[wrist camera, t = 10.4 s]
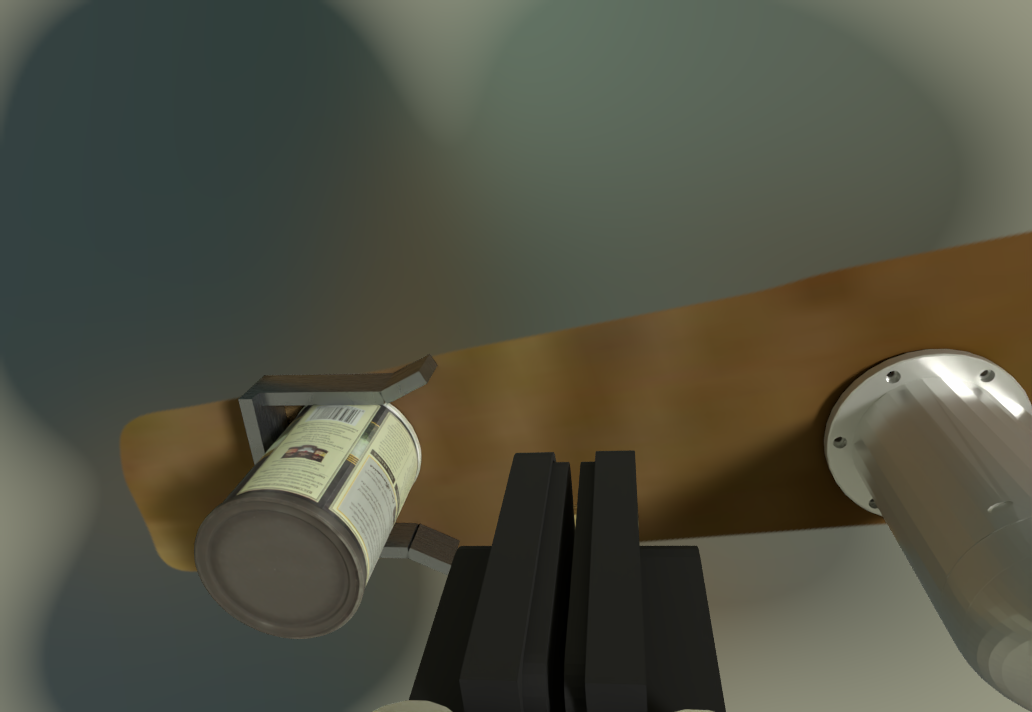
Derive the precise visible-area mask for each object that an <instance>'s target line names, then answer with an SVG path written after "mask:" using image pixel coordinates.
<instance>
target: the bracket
mask: <svg viewBox="0 0 1032 712" xmlns="http://www.w3.org/2000/svg"><path fill="white" fill-rule="evenodd" d="M436 367H437V364H436V362H435V361H434V360H433V358H432V357H431V355H430V354H429V355H427V356H425V357H423V358H421V359H419V360H417V361H415V362H414V363H412V364H410V365H408V366H406V367H404V368H402V369H401V370H399V371H397V372H395V373H386V374H322V375H321V374H318V375H264V376H263V377H262V378H261V379H260V380H259V381H258V382H257V383H256V384H254V385H253V386H252V387H251V388H250V389H249V390H248V391H247V392H246V393H245V394H244V395H242V396H241V397H240V398H239V399H238V400H239V404H240V408H241V412H242V416H243V420H244V424H245V428H246V432H247V436H248V440H249V444H250V448H251V452H252V456H253V460H254V464H255V465H256V463H257V462H258V461H259V460H260V459H261V458H262V456H263V455H264V454H265V453H266V452H267V451H268V449H269V448H270V447H271V446H272V445H273V444H274V442H275V441H276V440H277V439H278V438H279V437H280V435H281V434H282V433H283V432H284V431H285V430H286V428H287V427H288V422H287V417H286V413H285V408H284V405H384V404H385V403H387V404H388V403H390V402H392V401H394V400H396V399H398V398H400V397H402V396H404V395H406V394H408V393H409V392H411V391H413V390H415V389H417V388H419V387H421V386H423V385H425V384H427V383H428V381H429V379H430V377H431V376H432V374H433V372H434V370H435V369H436ZM459 542H460V541H459V540H457V539H455V538H452V537H450V536H447V535H445V534H443V533H440V532H438V531H436V530H433V529H431V528H429V527H426V526H424V525H422V524H420V525H419V528H418V523H395V524H394V526H393V528H392V530H391V532H390V534H389V537H388V539H387V541H386V543H385V545H384V547H383V550H382V552H381V554H380V556H379V558H408V559H411V560H413V561H415V562H418V563H420V564H422V565H425V566H427V567H430V568H432V569H434V570H436V571H439V572H441V573H444V574H446V575H447V574H448V572H449V570H450V568H451V565H452V561H453V558H454V555H455V553H456V551H457V548H458V545H459Z"/></svg>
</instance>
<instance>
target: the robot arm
mask: <svg viewBox="0 0 1032 712" xmlns="http://www.w3.org/2000/svg"><path fill="white" fill-rule="evenodd" d="M891 371H892V373H890V374H888V373H889V372H891ZM983 371H984V372H983ZM887 374H888V375H887ZM837 437H839V438H837ZM836 438H837V439H836ZM824 451H825V457H826V460H827V464H828V467H829V470H830V471H831V473H832V475H833V477H834V479H835V481H836V483H837V484H838V486H839V487H840V488H841V489H842V491H843V492H844V493H845V495H847V496H848V497H849V498H850V499H851V500H852V501H854V502H855V503H856V504H857V505H859V506H861V507H862V508H864V509H866V510H867V511H869V512H871V513H874V514H877V515H880V516H883V518H884V519H885V521H886V523H887V525H888V526H889V528H890V530H891V531H892V533H893V535H894V537H895V539H896V541H897V542H898V544H899V546H900V548H901V549H902V551H903V553H904V555H905V556H906V558H907V560H908V562H909V563H910V565H911V567H912V569H913V571H914V572H915V574H916V576H917V577H918V579H919V581H920V583H921V585H922V587H923V588H924V590H925V592H926V594H927V595H928V597H929V599H930V601H931V602H932V604H933V606H934V608H935V610H936V611H937V613H938V615H939V617H940V618H941V620H942V622H943V624H944V625H945V627H946V629H947V631H948V632H949V634H950V636H951V638H952V639H953V641H954V643H955V644H956V646H957V648H958V650H959V651H960V653H961V654H962V655H963V657H964V658H965V660H966V661H967V663H968V664H969V665H970V666H971V667H972V668H973V670H974V671H975V672H976V673H977V674H978V675H979V676H980V677H981V678H982V679H983V680H984V681H985V682H987V683H988V684H989V685H990V686H992V687H993V688H994V689H995V690H997V691H998V692H999V693H1001V694H1002V695H1003V696H1004V697H1006V698H1008V699H1009V700H1011V701H1013V702H1014V703H1016V704H1018V705H1020V706H1021V707H1023V708H1025V709H1027V710H1029V711H1031V712H1032V405H1031V403H1030V401H1029V399H1028V397H1027V395H1026V393H1025V391H1024V389H1023V388H1022V387H1021V386H1020V385H1019V384H1018V382H1017V381H1016V380H1015V379H1014V378H1013V377H1012V376H1011V375H1010V374H1008V373H1007V372H1006V371H1005V370H1004V369H1002V368H1001V367H1000V366H998V365H996V364H995V363H993V362H991V361H990V360H988V359H986V358H984V357H981V356H978V355H975V354H972V353H969V352H965V351H959V350H952V349H926V350H921V351H915V352H909V353H905V354H903V355H900V356H897V357H894V358H891V359H888V360H886V361H884V362H882V363H880V364H879V365H877V366H875V367H873V368H871V369H869V370H868V371H867V372H865V373H864V374H863V375H861V376H860V377H859V378H857V379H856V380H855V381H854V382H853V383H852V384H851V385H850V386H849V387H848V388H847V389H846V390H845V391H844V392H843V393H842V395H841V396H840V398H839V399H838V401H837V402H836V404H835V406H834V407H833V409H832V411H831V414H830V416H829V419H828V421H827V424H826V429H825V435H824ZM373 712H726V710H725V703H724V698H723V691H722V686H721V680H720V673H719V668H718V662H717V656H716V650H715V643H714V638H713V632H712V626H711V619H710V614H709V608H708V601H707V596H706V589H705V583H704V578H703V572H702V565H701V560H700V554H699V549H698V547H697V546H639V526H638V505H637V485H636V465H635V451H596V456H595V462H581V465H580V477H579V489H578V502H577V514H576V526H575V519H574V507H573V495H572V482H571V471H570V464H569V462H556V459H555V454H554V452H545V453H516V454H515V455H514V458H513V462H512V466H511V470H510V474H509V479H508V483H507V487H506V491H505V495H504V499H503V503H502V507H501V511H500V515H499V519H498V523H497V527H496V531H495V535H494V539H493V544H492V546H460V547H459V548H458V549H457V551H456V553H455V555H454V558H453V561H452V565H451V568H450V571H449V574H448V578H447V580H446V584H445V587H444V590H443V593H442V596H441V600H440V603H439V606H438V609H437V612H436V615H435V618H434V622H433V625H432V628H431V631H430V635H429V638H428V641H427V644H426V647H425V650H424V654H423V657H422V660H421V663H420V666H419V669H418V673H417V676H416V679H415V682H414V685H413V688H412V692H411V695H410V698H409V700H405V701H401V702H397V703H393V704H389V705H385V706H383V707H381V708H379V709H377V710H375V711H373Z"/></svg>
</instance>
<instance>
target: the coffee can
mask: <svg viewBox="0 0 1032 712" xmlns="http://www.w3.org/2000/svg"><path fill="white" fill-rule="evenodd" d="M420 465H421V448H420V444H419V441H418V438H417V435H416V433H415V432H414V429H413V427H412V425H411V424H410V423H409V422H408V421H407V419H406V418H405V417H404V415H402V414H401V413H400V411H399V410H398V409H396V408H395V407H394V406H392V405H391V404H390V403H388V404H387V403H385V404H384V405H305V406H304V407H303V408H302V409H301V411H300V412H299V414H298V415H297V417H296V418H295V419H294V420H293V421H292V422H291V424H290V425H289V426H288V427H287V428H286V430H285V431H284V432H283V433H282V434H281V435H280V437H279V438H278V439H277V440H276V441H275V442H274V444H273V445H272V446H271V447H270V448H269V449H268V451H267V452H266V453H265V454H264V455H263V456H262V458H261V459H260V460H259V461H258V462H257V463H256V465H255V466H254V467H253V468H252V469H251V470H250V471H249V472H248V473H247V475H246V476H245V477H244V478H243V480H242V481H241V482H240V483H239V484H238V485H237V486H236V488H235V489H234V490H233V491H232V492H231V493H230V494H229V496H228V497H227V498H226V499H225V500H224V502H223V503H221V504H220V505H218V506H217V507H216V508H215V509H214V510H213V511H212V512H211V513H210V514H209V515H208V516H207V517H206V518H205V520H204V521H203V522H202V524H201V526H200V527H199V529H198V532H197V535H196V539H195V545H194V557H195V564H196V568H197V571H198V574H199V576H200V578H201V581H202V583H203V584H204V586H205V588H206V589H207V591H208V592H209V594H210V595H211V596H212V598H213V599H214V600H215V601H216V602H217V603H218V604H219V605H220V606H221V607H222V608H223V609H224V610H225V611H226V612H228V613H229V614H230V615H231V616H233V617H234V618H236V619H237V620H239V621H240V622H242V623H244V624H246V625H248V626H249V627H252V628H254V629H256V630H258V631H261V632H264V633H267V634H270V635H274V636H278V637H283V638H291V639H305V638H314V637H319V636H323V635H326V634H328V633H331V632H333V631H335V630H337V629H338V628H340V627H341V626H343V625H344V624H345V623H347V621H349V620H350V619H351V617H352V616H353V615H354V614H355V612H356V611H357V609H358V607H359V605H360V603H361V600H362V597H363V594H364V591H365V586H366V584H367V582H368V580H369V578H370V576H371V574H372V571H373V569H374V567H375V565H376V563H377V561H378V559H379V556H380V554H381V552H382V550H383V547H384V545H385V543H386V541H387V539H388V537H389V534H390V532H391V530H392V528H393V526H394V524H395V521H396V519H397V517H398V515H399V513H400V511H401V509H402V506H403V504H404V502H405V500H406V497H407V495H408V493H409V491H410V489H411V487H412V485H413V484H414V482H415V480H416V478H417V476H418V474H419V471H420Z"/></svg>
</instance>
